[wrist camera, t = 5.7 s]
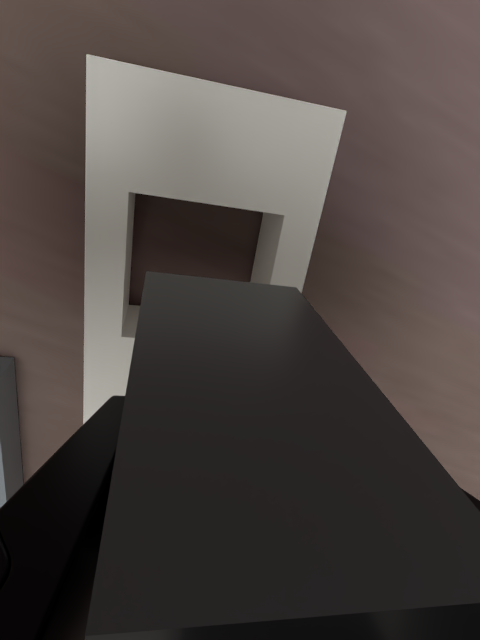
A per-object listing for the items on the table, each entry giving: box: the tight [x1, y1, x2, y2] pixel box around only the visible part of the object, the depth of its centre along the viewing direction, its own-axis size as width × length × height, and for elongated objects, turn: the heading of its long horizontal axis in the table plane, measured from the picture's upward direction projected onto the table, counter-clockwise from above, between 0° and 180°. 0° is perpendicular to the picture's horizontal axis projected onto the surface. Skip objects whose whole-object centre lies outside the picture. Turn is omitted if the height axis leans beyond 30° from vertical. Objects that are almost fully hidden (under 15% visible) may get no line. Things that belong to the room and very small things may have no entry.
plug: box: [85, 271, 480, 640], centre depth 7 cm, size 4×4×10 cm
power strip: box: [83, 54, 347, 424], centre depth 20 cm, size 26×9×4 cm, turn 170°
